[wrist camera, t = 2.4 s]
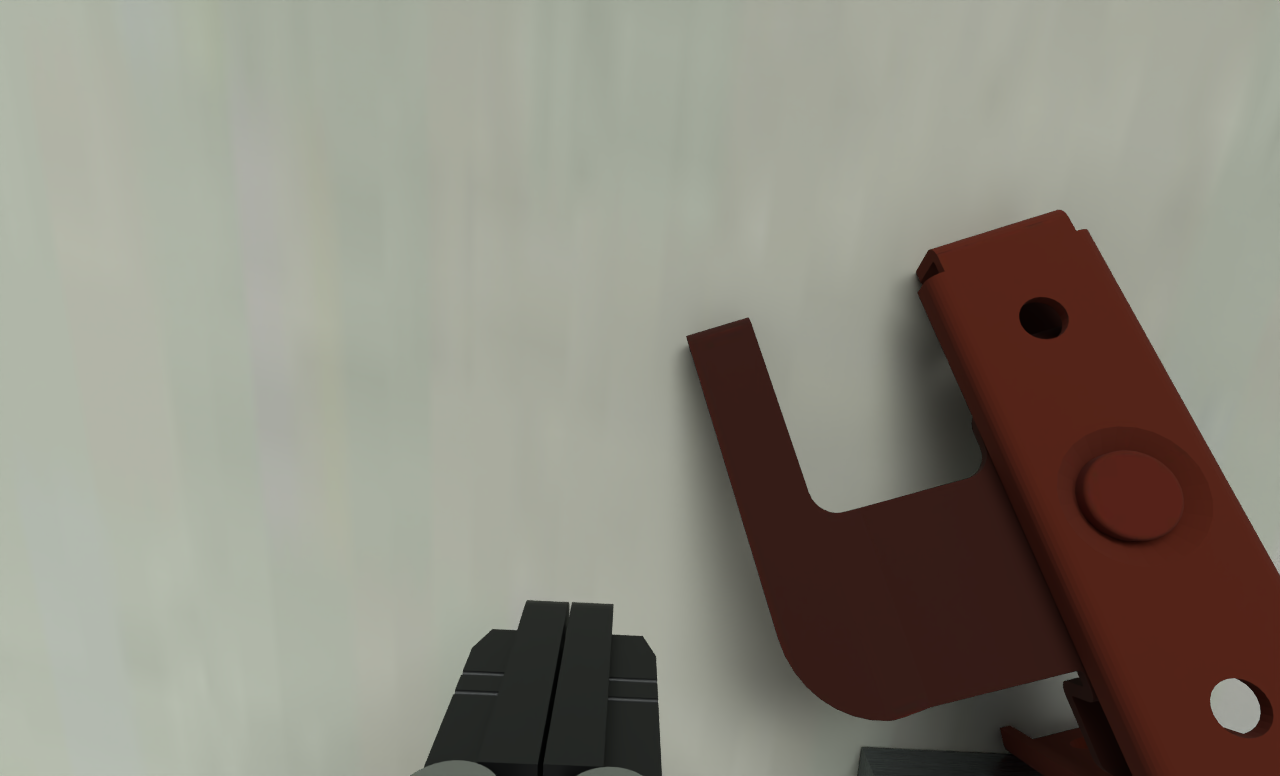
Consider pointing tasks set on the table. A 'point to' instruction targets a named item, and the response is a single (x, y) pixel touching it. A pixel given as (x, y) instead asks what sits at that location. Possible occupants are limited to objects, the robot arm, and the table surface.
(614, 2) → the table surface
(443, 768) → the robot arm
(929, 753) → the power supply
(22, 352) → the table surface
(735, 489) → the bracket
